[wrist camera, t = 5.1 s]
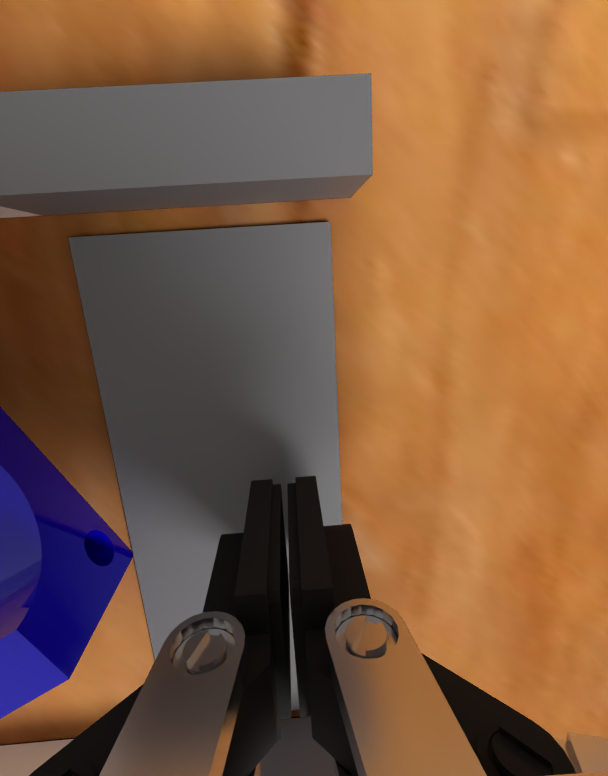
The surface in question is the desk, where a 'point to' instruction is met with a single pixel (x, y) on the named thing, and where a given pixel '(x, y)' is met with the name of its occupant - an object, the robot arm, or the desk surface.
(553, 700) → the desk surface
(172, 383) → the green grey rectangular frame
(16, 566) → the cable holder
